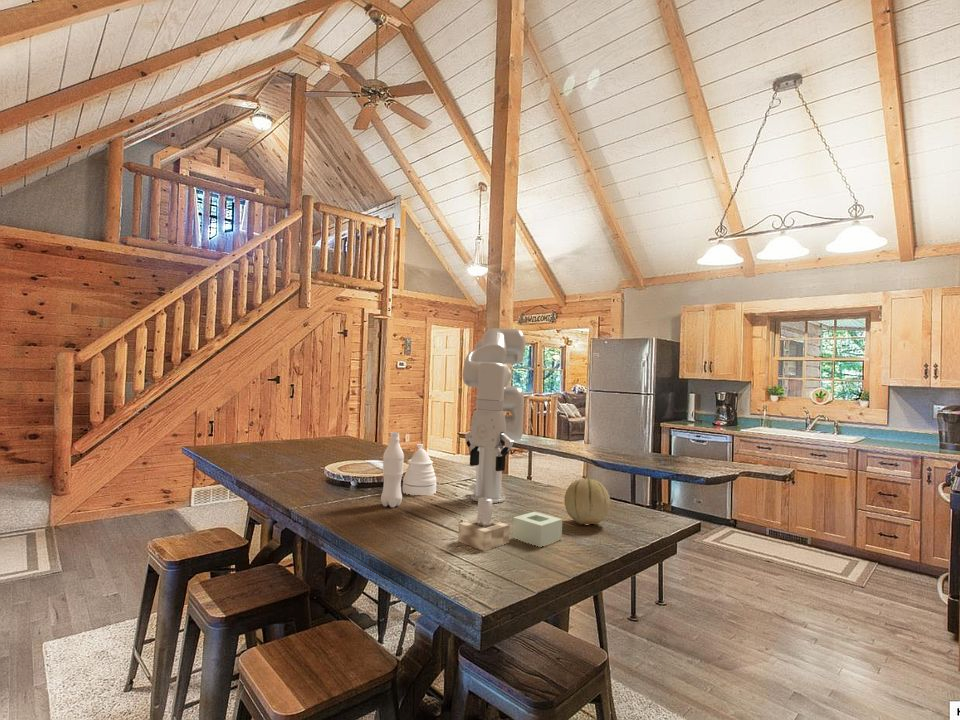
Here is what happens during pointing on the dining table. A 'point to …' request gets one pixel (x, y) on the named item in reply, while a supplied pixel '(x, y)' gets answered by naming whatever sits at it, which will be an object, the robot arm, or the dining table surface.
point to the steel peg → (484, 512)
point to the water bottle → (392, 472)
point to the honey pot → (419, 474)
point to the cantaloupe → (587, 501)
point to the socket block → (483, 534)
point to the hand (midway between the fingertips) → (486, 468)
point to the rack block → (537, 528)
